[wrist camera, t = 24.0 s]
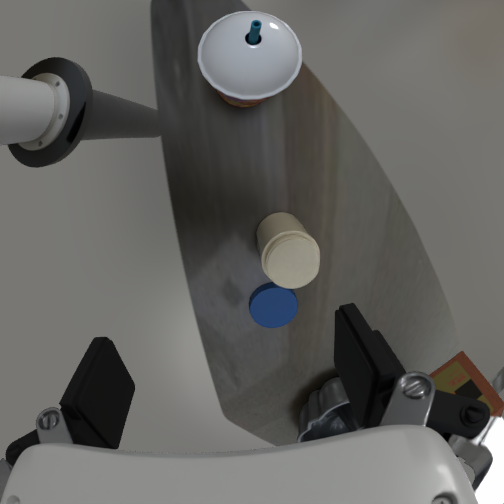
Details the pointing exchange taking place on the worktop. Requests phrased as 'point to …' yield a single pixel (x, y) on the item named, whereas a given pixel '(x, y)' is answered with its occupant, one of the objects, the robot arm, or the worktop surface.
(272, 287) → the jam lid
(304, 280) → the jam jar
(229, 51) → the smoothie
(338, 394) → the bundt pan
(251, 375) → the worktop surface
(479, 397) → the box
